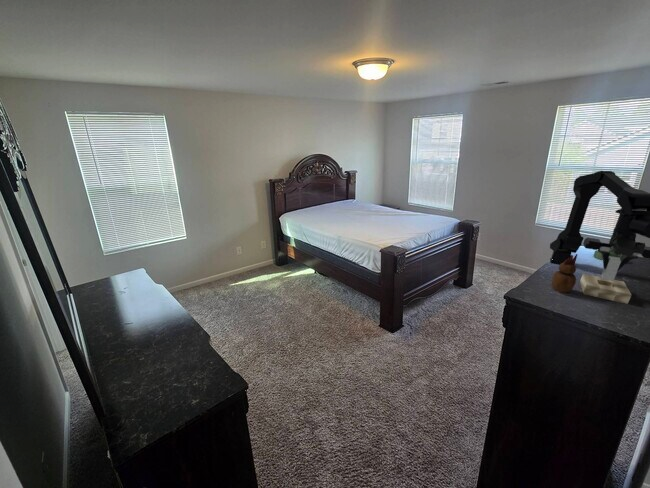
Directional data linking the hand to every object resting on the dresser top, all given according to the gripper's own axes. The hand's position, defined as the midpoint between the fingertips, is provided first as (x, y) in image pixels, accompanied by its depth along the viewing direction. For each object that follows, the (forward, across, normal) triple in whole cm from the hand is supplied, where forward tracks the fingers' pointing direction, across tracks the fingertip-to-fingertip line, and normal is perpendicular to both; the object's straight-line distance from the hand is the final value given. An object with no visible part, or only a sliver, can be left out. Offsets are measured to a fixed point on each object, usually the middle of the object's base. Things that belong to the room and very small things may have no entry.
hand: (610, 269), depth 110 cm
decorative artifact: (+10, +8, +45) cm, 47 cm away
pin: (+4, 0, 0) cm, 4 cm away
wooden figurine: (+10, -13, -7) cm, 18 cm away
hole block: (+9, 0, 0) cm, 9 cm away
